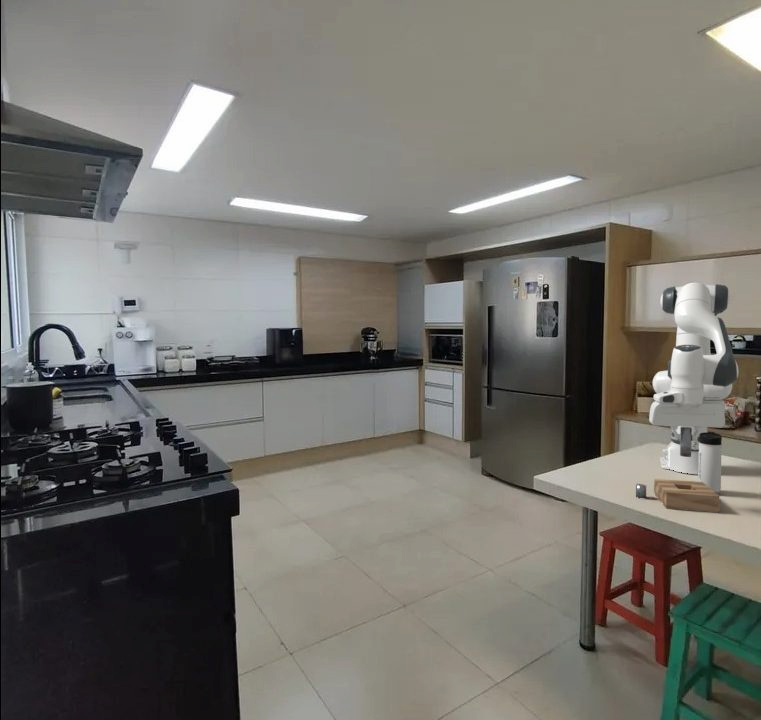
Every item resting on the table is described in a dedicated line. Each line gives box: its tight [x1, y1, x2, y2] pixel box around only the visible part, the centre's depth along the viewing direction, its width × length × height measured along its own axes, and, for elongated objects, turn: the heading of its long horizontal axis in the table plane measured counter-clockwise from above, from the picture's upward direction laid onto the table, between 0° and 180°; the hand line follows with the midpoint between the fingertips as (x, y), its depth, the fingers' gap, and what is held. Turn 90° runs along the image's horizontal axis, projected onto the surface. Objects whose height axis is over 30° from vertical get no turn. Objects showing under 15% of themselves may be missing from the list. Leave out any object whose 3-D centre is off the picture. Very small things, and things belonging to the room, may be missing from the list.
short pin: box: [635, 483, 647, 499], centre depth 155 cm, size 3×3×4 cm
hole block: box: [653, 478, 720, 513], centre depth 150 cm, size 14×14×5 cm
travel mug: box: [697, 431, 723, 496], centre depth 158 cm, size 6×7×20 cm
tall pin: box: [680, 427, 692, 457], centre depth 149 cm, size 3×3×9 cm
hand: (685, 440), depth 149 cm, fingers closed on tall pin, 3 cm apart
